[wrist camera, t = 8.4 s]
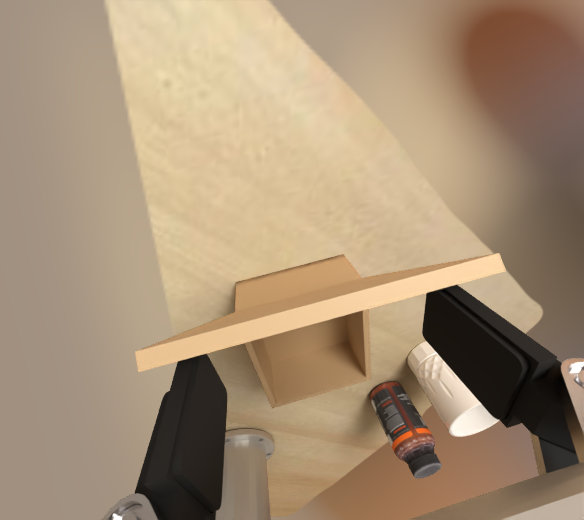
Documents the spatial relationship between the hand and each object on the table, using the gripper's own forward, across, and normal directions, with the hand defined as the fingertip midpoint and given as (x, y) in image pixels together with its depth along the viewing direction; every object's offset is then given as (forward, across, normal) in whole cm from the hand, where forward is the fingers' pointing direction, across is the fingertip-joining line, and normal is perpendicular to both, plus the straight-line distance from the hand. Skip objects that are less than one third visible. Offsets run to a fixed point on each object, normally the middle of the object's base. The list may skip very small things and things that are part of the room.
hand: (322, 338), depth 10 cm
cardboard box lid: (+4, 0, +2) cm, 4 cm away
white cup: (+16, -18, +28) cm, 37 cm away
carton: (+15, 0, +13) cm, 20 cm away
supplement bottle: (+16, -11, +35) cm, 40 cm away
